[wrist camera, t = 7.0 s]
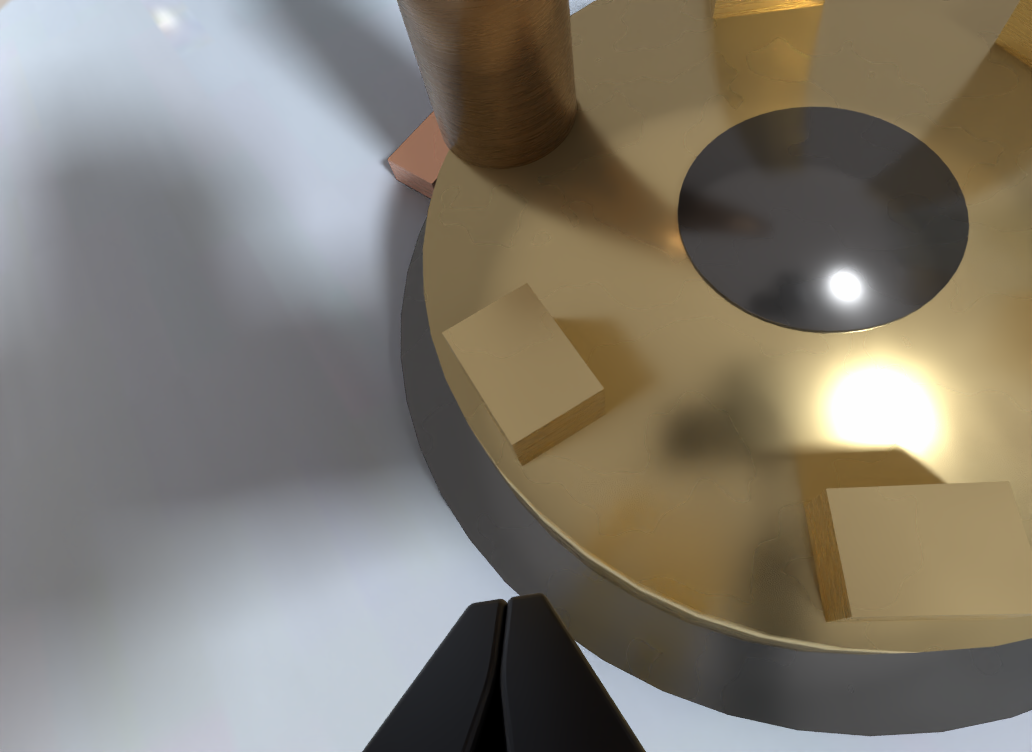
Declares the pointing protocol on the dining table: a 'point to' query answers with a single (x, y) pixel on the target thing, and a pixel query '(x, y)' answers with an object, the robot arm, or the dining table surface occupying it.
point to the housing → (656, 634)
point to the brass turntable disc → (749, 301)
